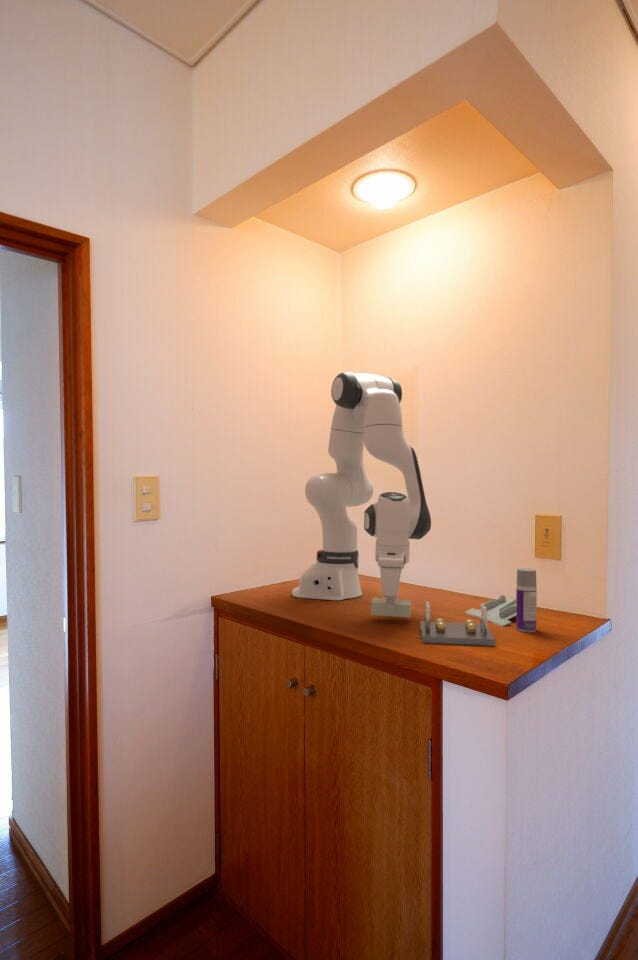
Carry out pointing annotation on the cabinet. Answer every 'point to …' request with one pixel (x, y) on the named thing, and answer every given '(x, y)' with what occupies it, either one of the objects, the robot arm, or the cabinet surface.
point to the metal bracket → (497, 611)
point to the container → (526, 600)
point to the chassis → (456, 630)
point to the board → (400, 607)
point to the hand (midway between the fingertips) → (391, 607)
